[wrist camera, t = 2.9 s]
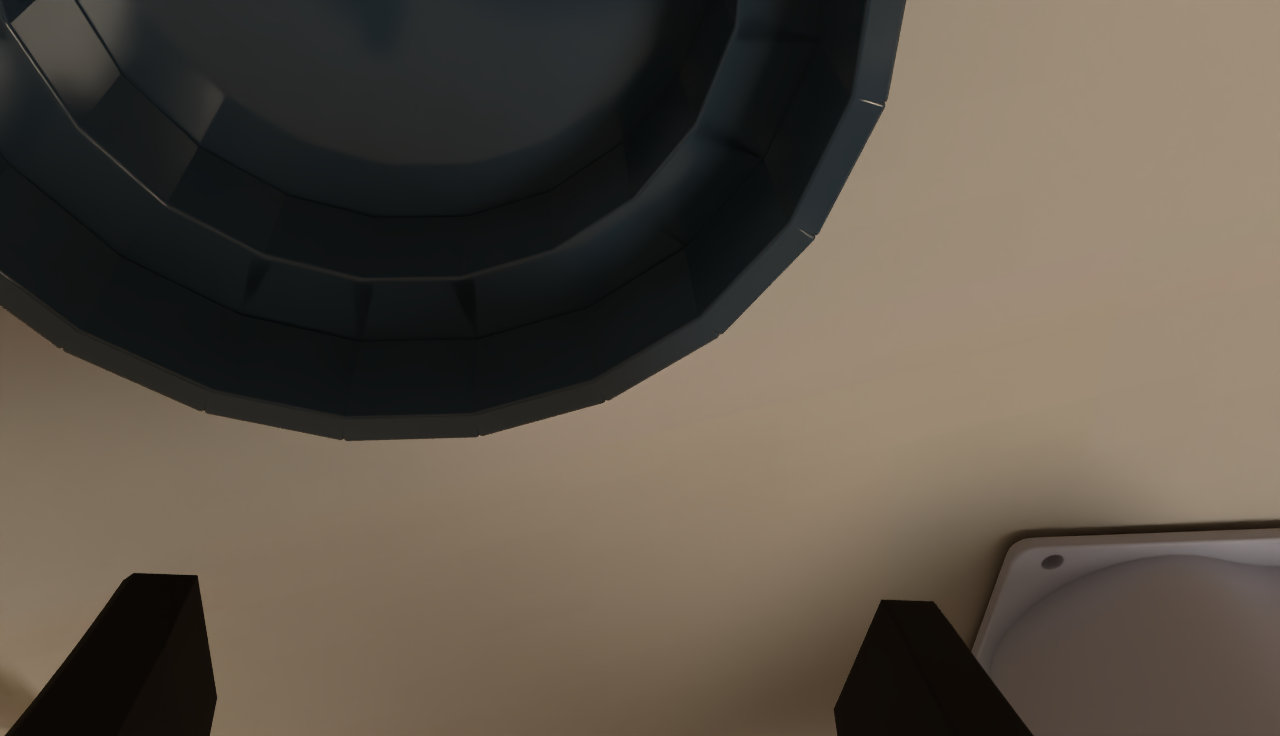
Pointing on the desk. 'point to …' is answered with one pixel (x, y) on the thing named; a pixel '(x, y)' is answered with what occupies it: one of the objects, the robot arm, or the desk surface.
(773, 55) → the bowl
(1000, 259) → the desk surface
